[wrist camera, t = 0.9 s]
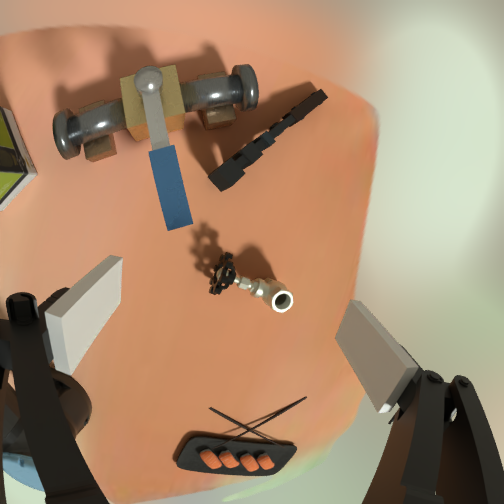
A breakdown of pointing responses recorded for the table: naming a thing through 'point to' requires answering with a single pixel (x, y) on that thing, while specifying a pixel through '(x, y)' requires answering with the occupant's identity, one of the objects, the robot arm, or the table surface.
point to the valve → (251, 285)
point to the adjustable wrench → (261, 144)
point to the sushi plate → (236, 453)
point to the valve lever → (162, 151)
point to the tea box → (12, 160)
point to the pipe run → (173, 104)
